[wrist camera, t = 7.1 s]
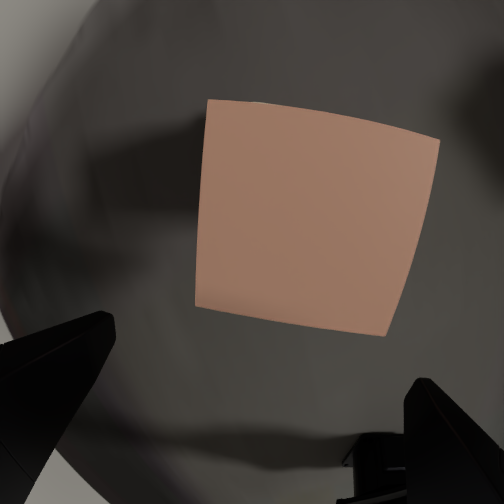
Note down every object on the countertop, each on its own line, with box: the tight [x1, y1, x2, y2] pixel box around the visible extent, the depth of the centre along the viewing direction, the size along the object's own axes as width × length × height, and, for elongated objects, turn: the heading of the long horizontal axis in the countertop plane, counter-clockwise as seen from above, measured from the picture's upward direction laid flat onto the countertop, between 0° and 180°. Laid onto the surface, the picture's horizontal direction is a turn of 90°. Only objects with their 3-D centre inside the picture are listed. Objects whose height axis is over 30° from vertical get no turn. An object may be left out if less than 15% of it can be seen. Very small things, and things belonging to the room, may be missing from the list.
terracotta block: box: [195, 99, 440, 336], centre depth 8 cm, size 5×5×4 cm
